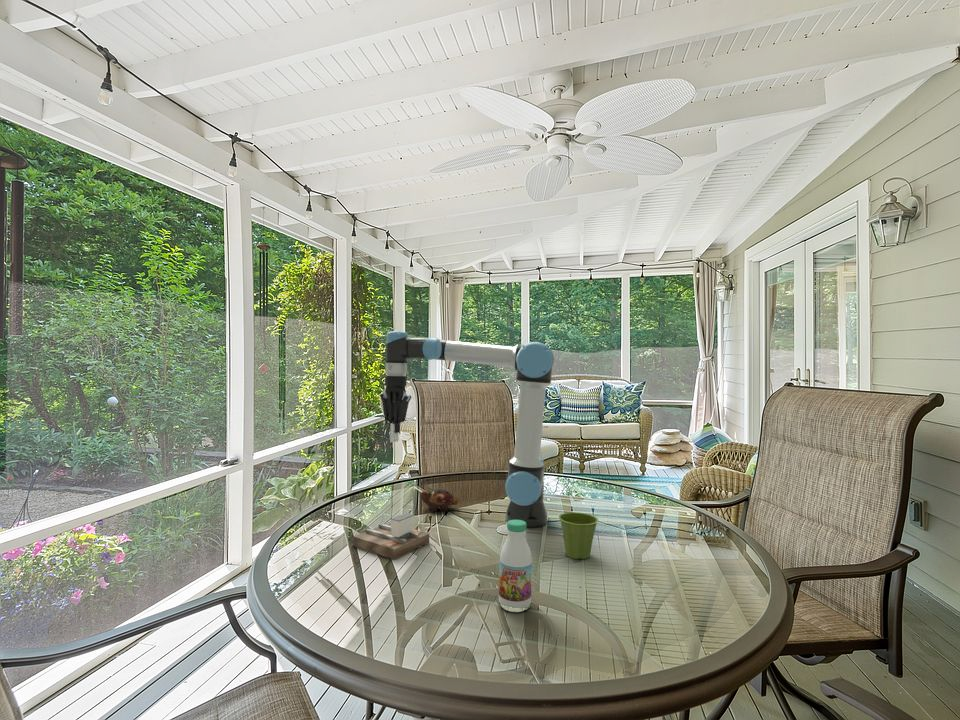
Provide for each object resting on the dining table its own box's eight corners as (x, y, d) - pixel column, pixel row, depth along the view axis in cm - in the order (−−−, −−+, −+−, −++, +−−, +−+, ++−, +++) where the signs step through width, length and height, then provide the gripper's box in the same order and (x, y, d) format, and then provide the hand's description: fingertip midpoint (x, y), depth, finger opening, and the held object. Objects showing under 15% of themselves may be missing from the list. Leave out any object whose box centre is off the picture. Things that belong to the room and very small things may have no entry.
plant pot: (599, 550, 153) (600, 514, 153) (595, 565, 141) (596, 526, 141) (561, 545, 157) (562, 509, 156) (554, 559, 145) (555, 521, 145)
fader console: (429, 542, 156) (429, 530, 155) (394, 559, 142) (394, 545, 142) (389, 531, 165) (389, 519, 165) (353, 546, 151) (353, 533, 151)
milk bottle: (496, 597, 121) (498, 516, 121) (527, 597, 122) (529, 516, 122) (500, 614, 113) (502, 527, 113) (533, 613, 114) (536, 527, 114)
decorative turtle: (415, 508, 190) (417, 487, 191) (452, 506, 197) (453, 486, 197) (424, 514, 182) (425, 492, 182) (461, 512, 188) (463, 491, 189)
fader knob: (413, 535, 153) (414, 514, 153) (398, 542, 147) (398, 520, 147) (406, 533, 155) (406, 512, 155) (390, 539, 149) (391, 518, 149)
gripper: (374, 374, 175) (373, 440, 175) (402, 376, 168) (401, 445, 168) (389, 374, 181) (387, 438, 181) (417, 375, 174) (415, 442, 174)
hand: (394, 441), depth 174 cm, fingers closed
